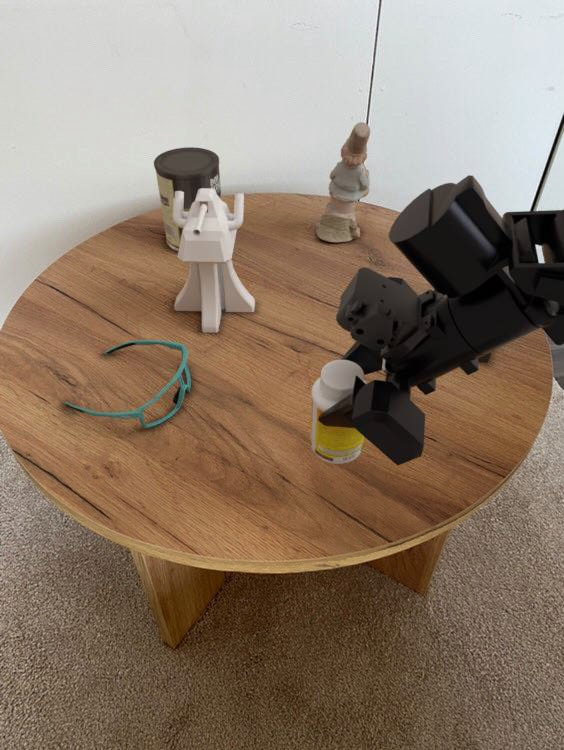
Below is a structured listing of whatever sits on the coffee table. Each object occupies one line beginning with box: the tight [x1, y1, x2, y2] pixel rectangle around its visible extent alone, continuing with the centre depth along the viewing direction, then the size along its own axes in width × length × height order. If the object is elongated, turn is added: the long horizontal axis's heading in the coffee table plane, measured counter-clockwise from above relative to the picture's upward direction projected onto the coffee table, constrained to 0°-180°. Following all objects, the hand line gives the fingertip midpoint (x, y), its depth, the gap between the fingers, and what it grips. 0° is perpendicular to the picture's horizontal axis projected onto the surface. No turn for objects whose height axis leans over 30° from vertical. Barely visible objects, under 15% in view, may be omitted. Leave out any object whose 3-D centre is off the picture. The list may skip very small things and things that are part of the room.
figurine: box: [314, 122, 371, 243], centre depth 96 cm, size 9×8×20 cm
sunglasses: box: [64, 339, 192, 429], centre depth 74 cm, size 14×15×5 cm
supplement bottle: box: [309, 359, 368, 465], centre depth 57 cm, size 6×6×10 cm
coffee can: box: [153, 146, 222, 253], centre depth 97 cm, size 10×10×14 cm
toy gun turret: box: [173, 188, 256, 334], centre depth 81 cm, size 12×13×18 cm
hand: (326, 398), depth 56 cm, fingers closed on supplement bottle, 5 cm apart
